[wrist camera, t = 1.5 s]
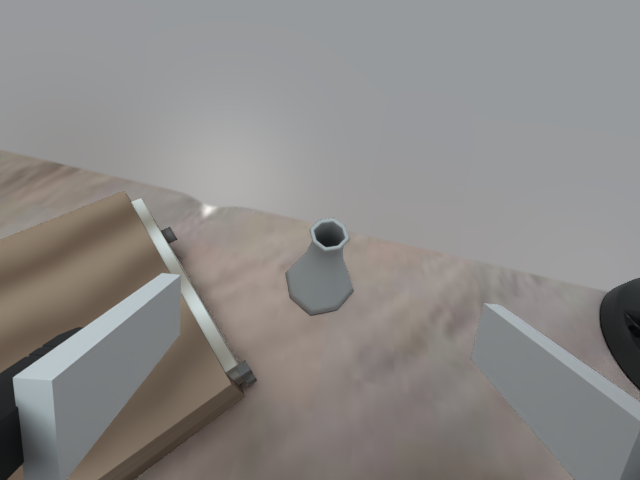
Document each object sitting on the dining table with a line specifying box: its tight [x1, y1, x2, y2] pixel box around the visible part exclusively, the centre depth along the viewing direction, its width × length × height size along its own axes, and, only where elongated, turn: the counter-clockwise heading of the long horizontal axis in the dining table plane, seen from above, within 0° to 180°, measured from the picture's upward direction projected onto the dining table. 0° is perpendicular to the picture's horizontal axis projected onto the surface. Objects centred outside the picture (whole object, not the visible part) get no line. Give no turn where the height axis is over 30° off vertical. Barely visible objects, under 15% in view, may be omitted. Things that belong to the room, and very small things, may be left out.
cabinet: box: [0, 191, 257, 480], centre depth 25 cm, size 20×16×8 cm
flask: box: [286, 218, 354, 315], centre depth 30 cm, size 7×7×10 cm
